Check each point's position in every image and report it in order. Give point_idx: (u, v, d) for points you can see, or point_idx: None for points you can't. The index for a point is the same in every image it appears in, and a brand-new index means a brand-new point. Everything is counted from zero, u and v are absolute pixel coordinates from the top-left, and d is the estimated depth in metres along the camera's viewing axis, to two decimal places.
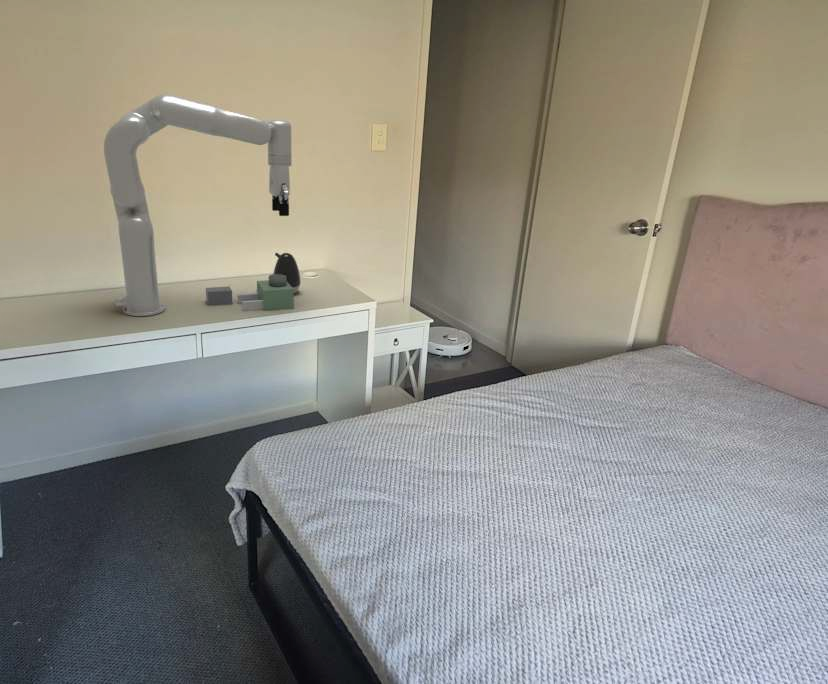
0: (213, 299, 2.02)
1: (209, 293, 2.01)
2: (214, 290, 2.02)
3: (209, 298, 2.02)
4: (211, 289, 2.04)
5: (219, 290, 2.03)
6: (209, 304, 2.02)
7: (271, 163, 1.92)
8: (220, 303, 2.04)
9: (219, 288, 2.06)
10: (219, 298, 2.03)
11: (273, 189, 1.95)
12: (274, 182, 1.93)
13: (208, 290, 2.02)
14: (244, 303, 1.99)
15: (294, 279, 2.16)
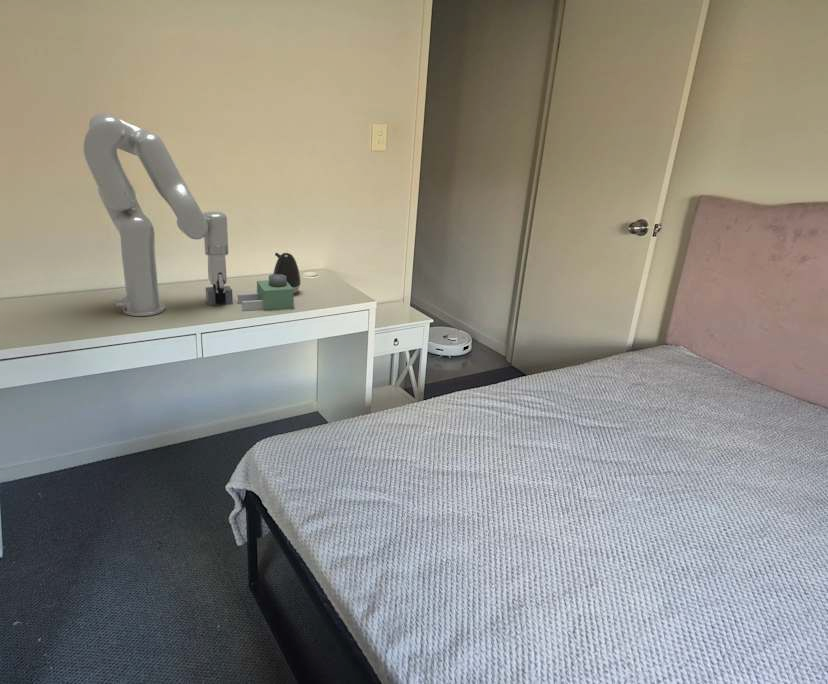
0: (214, 298, 2.02)
1: (209, 293, 2.01)
2: (214, 290, 2.02)
3: (209, 298, 2.02)
4: (211, 288, 2.04)
5: None
6: (209, 304, 2.02)
7: (207, 253, 1.97)
8: None
9: None
10: None
11: (210, 277, 2.00)
12: (211, 271, 1.98)
13: (208, 290, 2.02)
14: (244, 303, 1.99)
15: (294, 279, 2.16)
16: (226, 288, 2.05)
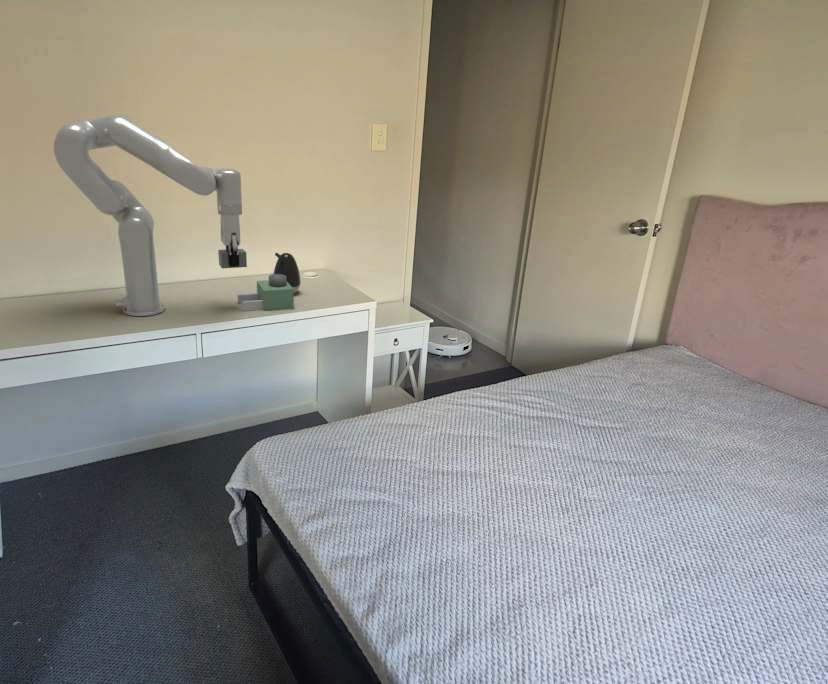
0: (227, 261, 1.94)
1: (223, 255, 1.92)
2: (228, 252, 1.94)
3: (223, 260, 1.93)
4: (225, 251, 1.95)
5: None
6: (223, 266, 1.94)
7: (220, 212, 1.88)
8: None
9: None
10: None
11: (223, 238, 1.91)
12: (224, 231, 1.89)
13: (221, 252, 1.94)
14: (244, 303, 1.99)
15: (294, 279, 2.16)
16: (240, 250, 1.97)
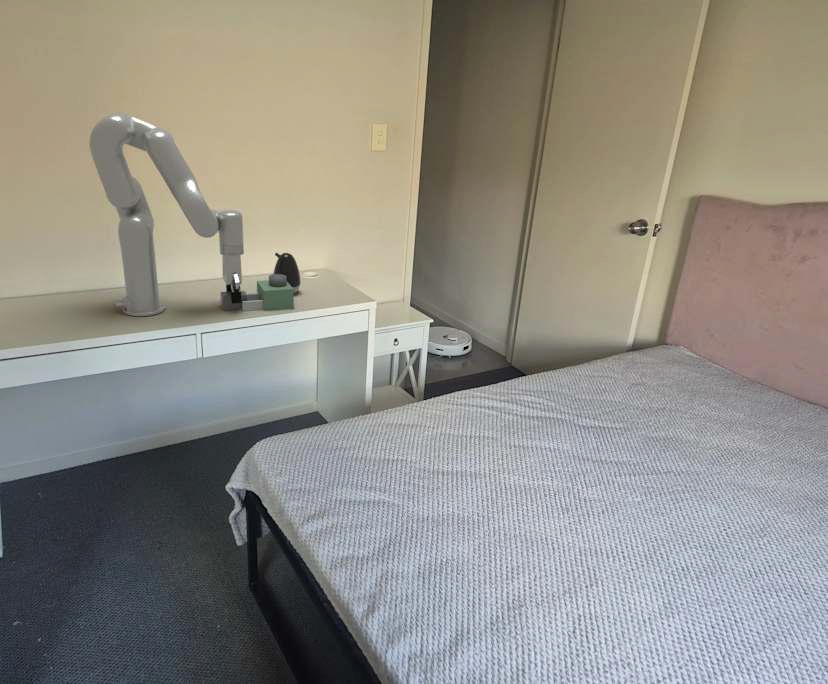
0: (228, 303, 1.99)
1: (224, 297, 1.98)
2: (229, 295, 1.99)
3: (224, 303, 1.98)
4: (226, 293, 2.00)
5: None
6: (224, 309, 1.99)
7: (222, 253, 1.93)
8: (235, 308, 2.01)
9: None
10: None
11: (225, 277, 1.96)
12: (226, 271, 1.94)
13: (223, 294, 1.99)
14: (244, 303, 1.99)
15: (294, 279, 2.16)
16: (241, 293, 2.02)
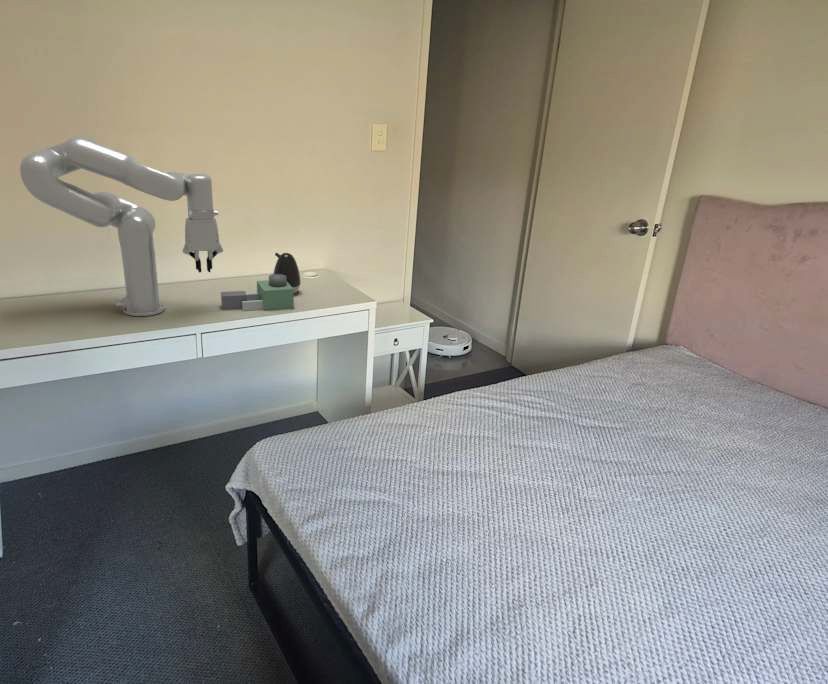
0: (228, 303, 1.99)
1: (223, 297, 1.98)
2: (228, 295, 1.99)
3: (223, 302, 1.99)
4: (226, 293, 2.01)
5: (234, 294, 2.00)
6: (223, 308, 1.99)
7: None
8: (234, 308, 2.01)
9: (234, 292, 2.02)
10: (233, 302, 2.00)
11: None
12: None
13: (223, 294, 1.99)
14: (244, 303, 1.99)
15: (294, 279, 2.16)
16: (241, 293, 2.02)
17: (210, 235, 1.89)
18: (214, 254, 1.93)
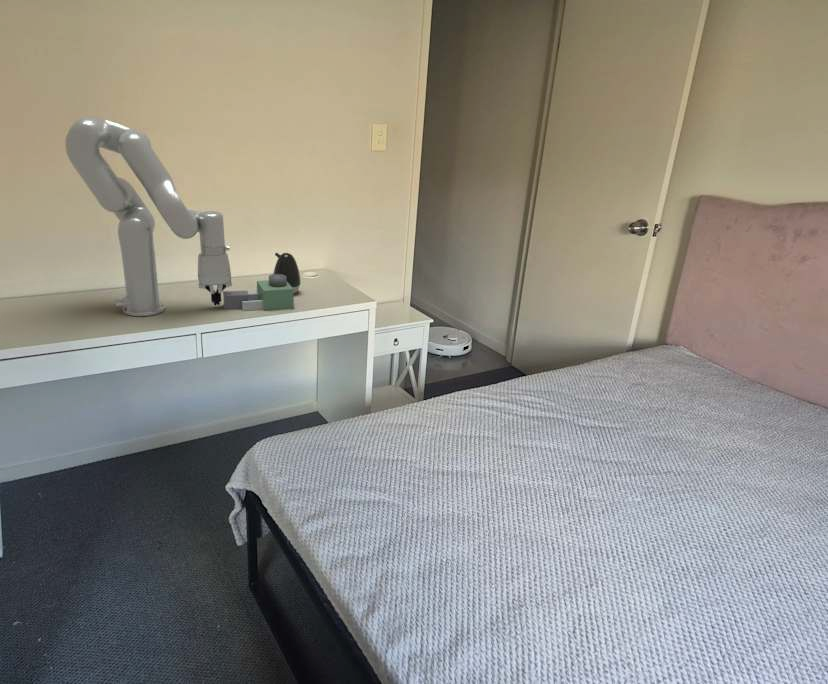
0: (229, 303, 1.99)
1: (225, 297, 1.98)
2: (230, 294, 1.99)
3: (225, 302, 1.99)
4: (228, 293, 2.01)
5: (235, 294, 2.00)
6: (225, 308, 2.00)
7: None
8: (236, 307, 2.01)
9: (236, 292, 2.03)
10: (235, 302, 2.00)
11: None
12: None
13: (225, 294, 2.00)
14: (244, 303, 1.99)
15: (294, 279, 2.16)
16: (243, 293, 2.02)
17: (222, 270, 1.94)
18: (223, 287, 1.98)
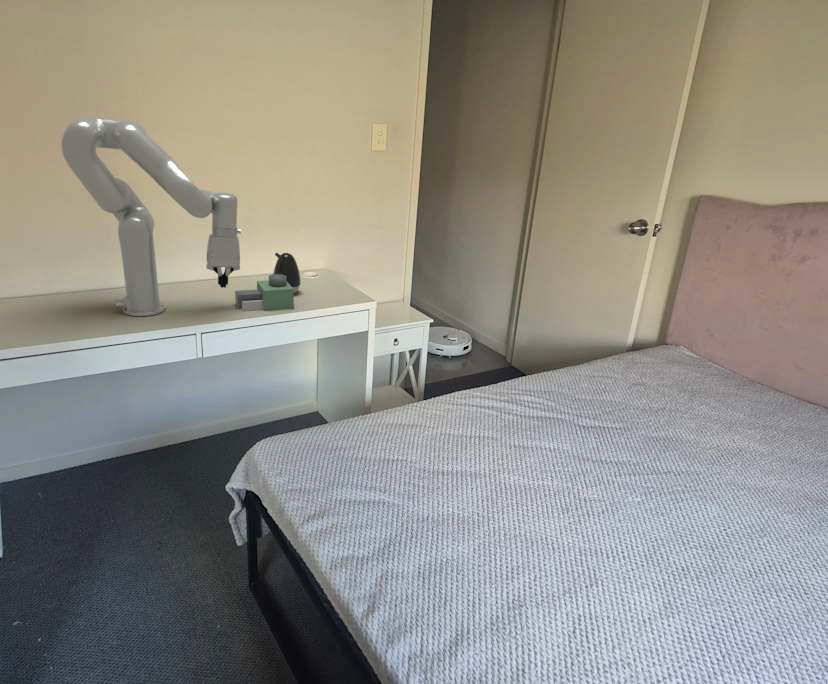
0: None
1: (239, 296, 2.00)
2: (244, 294, 2.01)
3: (239, 301, 2.01)
4: (241, 292, 2.03)
5: (249, 293, 2.02)
6: (239, 307, 2.02)
7: None
8: None
9: (249, 291, 2.05)
10: None
11: None
12: None
13: (238, 293, 2.01)
14: (244, 303, 1.99)
15: (294, 279, 2.16)
16: (255, 292, 2.04)
17: (232, 252, 1.94)
18: (231, 270, 1.97)
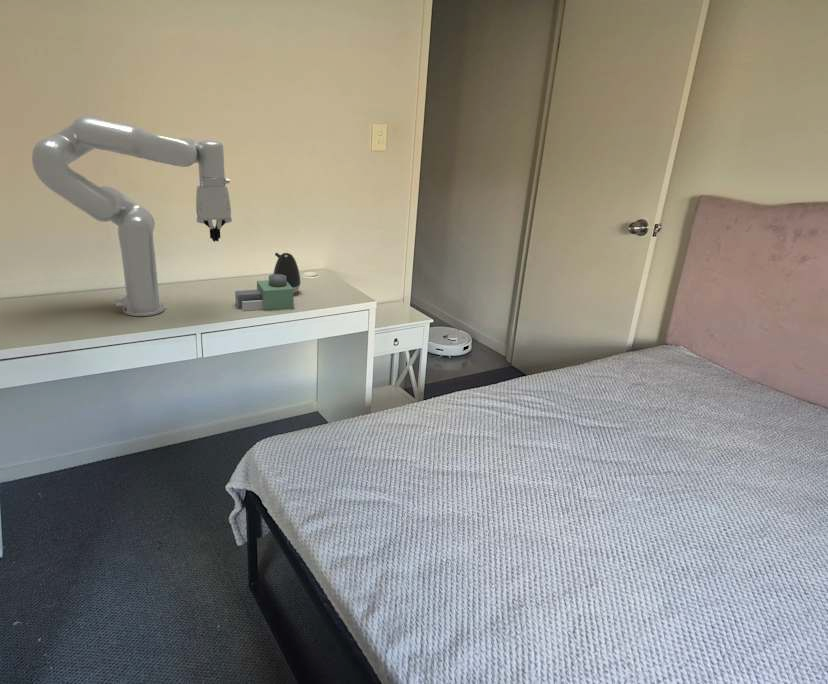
0: None
1: (239, 296, 2.00)
2: (244, 294, 2.01)
3: (239, 301, 2.01)
4: (241, 292, 2.03)
5: (249, 293, 2.02)
6: (239, 307, 2.02)
7: None
8: None
9: (249, 291, 2.05)
10: None
11: None
12: None
13: (238, 293, 2.01)
14: (244, 303, 1.99)
15: (294, 279, 2.16)
16: (256, 292, 2.04)
17: (222, 203, 1.87)
18: (222, 223, 1.90)
